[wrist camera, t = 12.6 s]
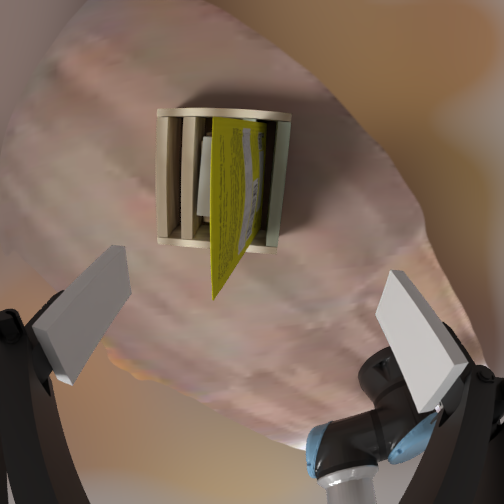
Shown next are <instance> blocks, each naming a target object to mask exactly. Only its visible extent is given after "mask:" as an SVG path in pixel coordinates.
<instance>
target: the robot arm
mask: <svg viewBox="0 0 504 504" xmlns="http://www.w3.org/2000/svg"><path fill="white" fill-rule="evenodd" d="M131 294H132V292H131V286H130V280H129V273H128V266H127V258H126V250H125V246H117V245H112V246H111V247H109V248H108V249H107V250H106V251H105V252H104V253H103V254H102V255H101V256H100V257H99V258H97V259H96V260H95V261H94V262H93V263H92V264H91V265H90V266H89V267H88V268H87V269H86V270H85V271H84V272H83V273H82V274H81V275H80V276H79V277H78V278H77V279H76V280H75V281H74V282H73V283H72V284H71V285H70V286H69V287H68V288H67V289H66V290H62V291H60V292H58V293H57V294H55V295H53V296H52V297H51V299H50V300H49V301H48V302H47V304H45V305H44V306H43V307H42V309H41V310H39V311H38V312H37V313H36V314H35V315H34V317H33V318H32V319H31V320H30V321H29V322H28V323H27V324H26V325H25V326H24V325H23V323H22V320H21V318H20V316H19V313H18V312H17V311H16V310H15V309H5V310H3V311H0V504H8V492H7V473H8V478H9V482H10V486H11V490H12V494H13V497H14V501H15V504H90V502H89V500H88V498H87V496H86V493H85V491H84V489H83V486H82V484H81V482H80V479H79V476H78V474H77V471H76V469H75V467H74V464H73V461H72V458H71V455H70V452H69V449H68V446H67V443H66V439H65V436H64V432H63V429H62V425H61V421H60V417H59V413H58V410H57V405H56V400H55V396H54V391H53V385H52V381H51V379H50V377H49V375H50V373H51V372H52V370H53V371H54V373H55V375H56V377H57V378H58V380H60V381H62V382H65V383H68V384H70V385H73V384H74V382H75V381H76V379H77V377H78V375H79V374H80V372H81V370H82V369H83V367H84V366H85V364H86V362H87V361H88V359H89V357H90V356H91V354H92V353H93V351H94V349H95V348H96V346H97V345H98V343H99V341H100V340H101V338H102V337H103V335H104V334H105V332H106V331H107V329H108V328H109V326H110V324H111V323H112V321H113V320H114V318H115V317H116V315H117V314H118V313H119V311H120V310H121V308H122V307H123V305H124V304H125V302H126V301H127V299H128V298H129V296H130V295H131ZM375 315H376V317H377V319H378V321H379V323H380V325H381V328H382V330H383V332H384V334H385V336H386V338H387V340H388V342H389V344H390V347H388V348H385V349H383V350H381V351H379V352H377V353H376V354H374V355H373V356H372V357H370V358H369V359H368V360H367V361H366V362H365V363H364V364H363V366H362V367H361V369H360V371H359V374H358V379H359V383H360V386H361V388H362V390H363V391H364V392H365V393H366V394H367V396H368V397H369V398H370V400H371V401H372V402H373V403H374V406H375V409H374V410H371V411H367V412H364V413H361V414H358V415H354V416H351V417H347V418H344V419H340V420H336V421H330V422H328V423H326V424H322V425H319V426H316V427H314V428H313V429H312V430H311V431H310V433H309V435H308V438H307V444H306V461H307V470H308V474H309V475H310V477H312V478H317V483H318V485H320V486H321V487H323V488H325V489H326V492H327V504H377V503H376V497H375V492H374V486H373V480H372V479H373V477H374V476H375V474H376V473H377V472H378V470H379V468H378V463H377V462H380V461H383V460H386V459H388V461H389V462H390V464H398V463H403V462H405V461H408V460H410V459H412V458H414V457H416V456H417V455H419V454H421V453H422V452H423V451H425V452H424V454H423V456H422V459H421V461H420V463H419V465H418V467H417V470H416V472H415V474H414V476H413V478H412V480H411V482H410V484H409V486H408V487H407V490H406V491H405V493H404V495H403V497H402V498H401V500H400V502H399V504H504V422H503V423H502V424H500V419H501V418H502V417H503V416H504V378H499V377H495V375H494V373H493V372H492V371H491V370H490V369H489V368H487V367H486V366H483V365H475V363H474V361H473V360H472V358H471V357H470V355H469V354H468V352H467V351H466V349H465V348H464V346H463V345H462V344H461V342H460V340H459V339H458V338H457V336H456V334H455V333H454V331H453V330H452V329H451V328H450V327H449V326H448V325H447V324H445V323H444V322H441V320H440V319H439V317H438V316H437V315H436V313H435V312H434V310H433V309H432V308H431V306H430V305H429V304H428V302H427V301H426V300H425V298H424V297H423V296H422V294H421V293H420V292H419V291H418V289H417V288H416V287H415V285H414V284H413V283H412V282H411V280H410V279H409V278H408V277H407V275H406V274H405V273H404V272H403V271H399V270H390V273H389V276H388V279H387V282H386V285H385V288H384V291H383V294H382V297H381V300H380V302H379V305H378V308H377V311H376V313H375ZM440 401H441V402H442V405H443V408H442V409H441V410H440V411H439V413H437V412H436V410H435V407H436V406H437V405H438V404H439V403H440Z"/></svg>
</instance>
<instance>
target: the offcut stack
mask: <svg viewBox="0 0 504 504" xmlns="http://www.w3.org/2000/svg"><path fill="white" fill-rule="evenodd" d="M211 144H212V132H207V136H206V137H203V141H201V167H200V178H199V190H198V203H197V215H199V216H204V222H210V171H211Z"/></svg>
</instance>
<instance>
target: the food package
mask: <svg viewBox="0 0 504 504" xmlns="http://www.w3.org/2000/svg"><path fill="white" fill-rule="evenodd" d="M212 120H213V125H212V129H213V130H212V144H211V171H210V254H211V281H212V300H213V301H214V299H215V298H216V296H217V294H218V293H219V292H220V290H221V289H222V287H223V286H224V284H225V283H226V281H227V279H228V278H229V276H230V275H231V273H232V272H233V270H234V268H235V267H236V265H237V264H238V262H239V261H240V259H241V258H242V256H243V255H244V253H245V251H246V250H247V248H248V247H249V245H250V244H251V242H252V241H253V239H254V238H255V236H256V235H257V233H258V231H259V230H260V228H261V219H262V204H263V190H264V173H265V156H266V134H267V124H266V123H260V122H254V121H247V120H240V119H232V118H224V117H215V116H214V117H213V119H212Z"/></svg>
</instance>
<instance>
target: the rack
mask: <svg viewBox="0 0 504 504" xmlns="http://www.w3.org/2000/svg"><path fill="white" fill-rule="evenodd" d="M214 116H215V117H224V118H235V119H243V120H247V121H254V122H257V120H264V121H275V122H276V130H275V141H274V151H273V162H272V173H271V183H270V193H269V203H268V213H267V223H266V230H259V231H258V233H257V235H256V236H255V238H254V239H253V241H252V242H251V244H250V245H249V247H248V248H247V250H246V251H245V252H254V253H265V254H277V246H278V238H279V230H280V221H281V213H282V204H283V195H284V186H285V177H286V168H287V158H288V148H289V138H290V128H291V117H292V114H291V113H282V112H272V111H260V110H246V109H226V108H170V109H157V126H156V218H157V238H158V244H163V245H174V246H186V247H197V248H208V249H210V226H206V225H201V222H202V216H199V215H197V203H198V190H199V178H200V167H201V141H203V137H205V120H206V118H213V117H214ZM181 117H184V119H183V138H182V167H181V224H180V219H179V181H180V143H181V122H182V118H181ZM201 117H204V118H201Z"/></svg>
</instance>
